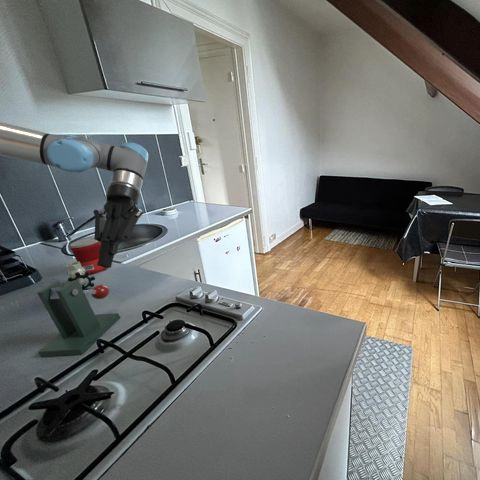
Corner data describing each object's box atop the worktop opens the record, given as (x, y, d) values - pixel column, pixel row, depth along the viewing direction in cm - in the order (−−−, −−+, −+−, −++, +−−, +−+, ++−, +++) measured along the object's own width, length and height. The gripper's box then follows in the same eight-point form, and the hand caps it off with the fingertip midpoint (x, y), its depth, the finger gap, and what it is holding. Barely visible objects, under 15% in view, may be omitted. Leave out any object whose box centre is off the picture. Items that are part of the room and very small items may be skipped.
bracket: (85, 319, 67) (62, 273, 62) (120, 317, 67) (99, 271, 62) (40, 357, 56) (7, 304, 51) (82, 354, 56) (53, 301, 51)
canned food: (114, 266, 95) (102, 239, 91) (87, 277, 89) (74, 247, 85) (105, 262, 99) (94, 235, 95) (79, 271, 93) (65, 243, 89)
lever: (98, 299, 68) (99, 285, 69) (112, 298, 68) (113, 284, 69) (45, 302, 55) (48, 285, 56) (62, 301, 55) (64, 284, 56)
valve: (67, 283, 86) (71, 296, 78) (58, 265, 83) (62, 277, 75) (92, 275, 90) (99, 287, 82) (85, 258, 87) (90, 268, 80)
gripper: (154, 195, 81) (138, 268, 72) (112, 198, 81) (91, 271, 72) (138, 181, 74) (117, 260, 65) (92, 184, 74) (66, 263, 65)
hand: (104, 266), depth 69 cm, fingers closed
